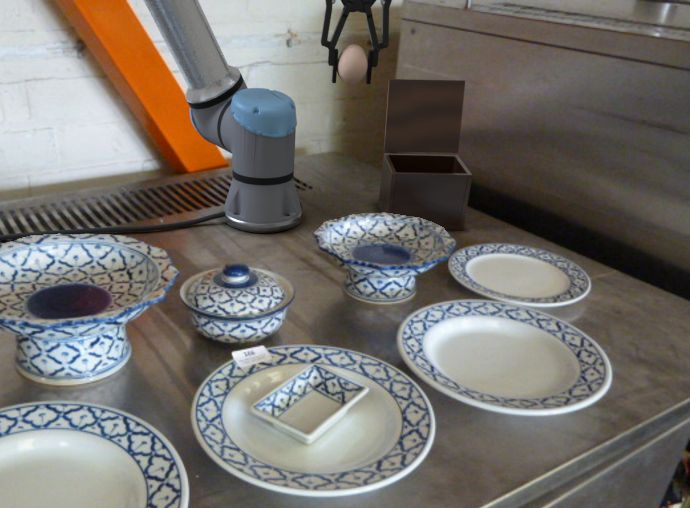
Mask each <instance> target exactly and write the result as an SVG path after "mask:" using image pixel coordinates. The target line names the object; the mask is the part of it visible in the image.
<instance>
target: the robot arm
mask: <svg viewBox="0 0 690 508" xmlns="http://www.w3.org/2000/svg"><path fill="white" fill-rule="evenodd" d="M143 2H144V4H145V7H146V8H147V10H148V12H149V14H150V16H151V18H152V20H153V21H154V22H153V23H154V24H155V26H156V27H157V30H158V31H159V33H160V35H161V37H162V39H163V41H164V43H165V44H166V46H167V48H168V50H169V53H170V54H171V56H172V58H173V60H174V62H175V64H176V65H177V68H178V70H179V71H180V73H181V75H182V77H183V79H184V81H185V84H186V85H187V88H186V91H185V95H184V97H185V100H186V102H187V104H188V106H189V118H190V122H191V124H192V126H193V128H194V129H195V131H196V133H198V135H200V137H202V139H204V140H205V141H207V142H208V143H210V144H213V146H217V147H219V148H220V149H223V150H224V151H226V152H228V153H230V154H231V160H232V161H231V164H232V165H231V166H232V167H231V171H232V178H231V179H232V180H231V183H230V186H229V190H228V193H227V196H226V199H225V201H224V205H223V208H222V210H223V211H221V212H217V213H212V214H209V215H206V216H202V217H199V218H195V219H190V220H189V219H188V220H184V221H179V222H171V223H164V224H152V225H134V226H133V225H132V226H131V225H129V226H110V227H109V226H108V227H88V228H72V229H71V228H69V229H53V230H43V231H42V230H41V231H28V232H19V233H18V232H17V233H8V234H6V233H5V234H0V241H8V240H19V239H18V238H20V239H23V238H22V237H26V236H30V235H43V234H58V233H63V234H72V235H86V234H85V233H90V234H109V233H110V234H111V233H133V232H150V231H162V230H170V229H178V228H183V227H189V226H194V225H198V224H201V223H205V222H209V221H213V220H216V219H220V218H223V221H224V222H225V224H227V226H230V227H231V228H234V229H236V230H240V231H243V232H249V233H256V234H257V233H258V234H266V233H267V234H269V233H271V234H272V233H278V232H283V231H288V230H291V229H293V228H295V227H297V226H298V225H299V224H300V223H301V221H302V219H303V218H302V217H303V216H302V214H303V206H302V203H301V201H300V199H299V194H298V191H297V188H296V184H295V177H294V176H295V157H296V156H295V155H296V154H295V153H296V134H297V133H296V132H297V131H296V130H297V126H298V118H297V107H296V103H295V101H294V100H293V98H292V97H290V96H289V95H287V94H286V93H284V92H281V91H278V90H274V89H273V90H272V89H269V88H264V87H250V88H248V86H247V84H246V81H245V79H244V77H243V74H242V73H241V71H240V69H239V67H236V66H233V65H230V64H229V63H228V61H227V60H226V59H227V58H225V54H224V53H223V51H222V49H221V46H220V45H219V44H220V43H218V40H217V37H216V35H215V33H214V31H213V29H212V27H211V25H210V23H209V20H208V19H207V16H206V14H205V12H204V10H203V8H202V6H201V3H200V2H199V0H143ZM336 2H337V0H324V3H325V10H324V17H323V23H322V30H321V36H320V45H321V46H322V47H325V48H327V49H328V53H327V54H328V55H327V57H328V58H327V64H328V66H329V67H332V70H331V71H332V72H331V83H332V84H337V77H338V73H337V63H338V57H339V49H338V48H336V47H337V44H338V41H339V39H340V36H341V34H342V32H343V30H344V27H345V24H346V22H347V19H348V18H349V16H350V13H357V12H358V13H361V14H362V13H363V14H364V16H365V21H366V25H367V30H368V34H369V39H370V43H371V47H372V49H368V51H367V52H368V53H367V59H368V70H367V73H366V75H365V83H366V85H371V83H372V74H373V73H372V71H373V68H377V67H378V63H379V55H380V51H381V50H384V49H387V48H388V47H389V43H390V40H389V37H390V35H389V34H390V30H389V29H390V7H391V5H392V2H393V0H379V4H380V5H381V31H380V32H381V34H380V35H381V37H380V38H381V39H380V42H379V39H378V34H377V29H376V25H375V21H374V16H373V11H372V7H373V5H374V4H375V3H376V2H377V0H340V2H341V4H342V5H343V7H342V10H341V12H340V15H339V18H338V21H337V23H336V26H335V28H334V30H333V33H332V36H331V39H330V40H328V39H329V33H330V27H331V19H332V13H333V5H334V4H335V3H336Z"/></svg>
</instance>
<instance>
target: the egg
mask: <svg viewBox="0 0 690 508" xmlns="http://www.w3.org/2000/svg"><path fill="white" fill-rule="evenodd" d="M367 70H368V55H367V53H366V51H365V49H364V48H363V47H362V46H360V45H359V44H355V43H353V44H349V45H347V46H345V48H343V50H342V51H341V52H340V53H339V55H338V63H337V76H338V77H339V79H340V80H341V81H342V82H343V83H345V84H346V85H347V84H348V85H356V84H358V83H360V82H361V81H362V80H363V79H364V78H365V77H366V73H367Z"/></svg>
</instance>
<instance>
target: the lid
mask: <svg viewBox="0 0 690 508" xmlns="http://www.w3.org/2000/svg"><path fill="white" fill-rule="evenodd" d="M387 83H388V86H387V99H386V115H385V127H384V128H385V129H384V143H383V151H384V152H403V153H405V152H410V153H443V154H444V153H447V154H448V153H451V154H453V153H454V154H458V153H459V152H460V151H459V149H460V140H461V129H462V120H463V110H464V101H465V100H464V98H465V89H466V88H465V87H466V80H460V79H458V80H457V79H413V78H389V79H388V82H387Z"/></svg>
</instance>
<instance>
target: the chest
mask: <svg viewBox="0 0 690 508" xmlns="http://www.w3.org/2000/svg"><path fill="white" fill-rule="evenodd" d="M381 167H382V168H381V176H380V177H381V178H380V186H379V194H378V195H379V196H378V204H377V205H378V209H379V212H380V213H381V212H386V213H393V214H400V215H406V216H414V217H420V218H423V219H426V220H428V221H432V222H434V223H436V224H438V225H440V226H442V227H444V228H445V229H446V230H445V231H463V230H464V225H465V220H466V215H467V210H468V204H469V198H470V192H471V186H472V181H473V174H472V172H471V171H470V170H469V168H468V167H467V165H466V163H464V162H463V160H462V159H461V158H460V157H459V155H458V154H430V153H429V154H425V153H389V152H388V153H387V152H386V153H383V158H382V166H381Z"/></svg>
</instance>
